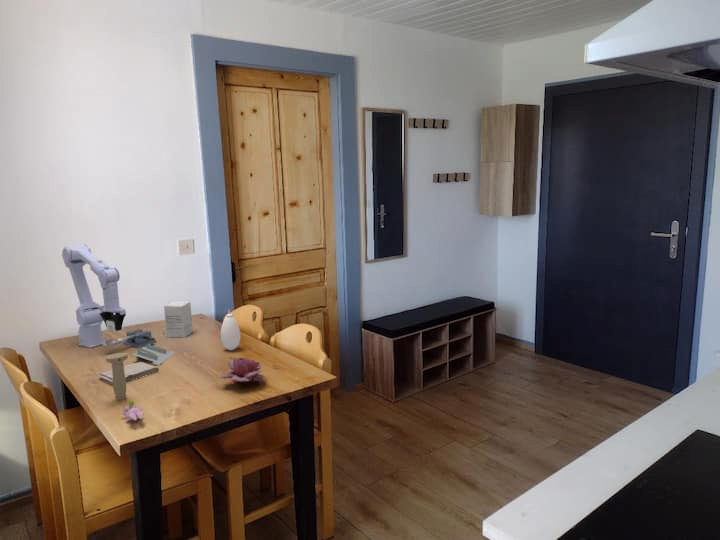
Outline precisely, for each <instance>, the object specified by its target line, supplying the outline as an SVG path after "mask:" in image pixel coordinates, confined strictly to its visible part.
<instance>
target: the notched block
mask: <svg viewBox="0 0 720 540" xmlns="http://www.w3.org/2000/svg"><path fill="white" fill-rule="evenodd" d="M106 324H107V327H106V331H107V332H111V331H113V333H118V332H122V329H123V328H122V329H121V330H119V331H116V329H115V324H114V321H113V319H109V320H106Z"/></svg>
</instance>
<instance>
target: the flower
mask: <svg viewBox="0 0 720 540" xmlns="http://www.w3.org/2000/svg"><path fill="white" fill-rule="evenodd" d="M227 367H228V368H229V369H230V371H229V372H226V373H222V374H220V378H222V379H230V381H232V382H237V383H243V382H244V383H243V384H244V385H246V382H259V385H261V384H263V379H264V378H266V376H265V375H263V374H260V373H262V371H263V369H261V368H262V364H261V362H260V361H255V360H254V359H250V358H247V357H242V356H239V357H238V358H237V357H235V358H233V359H231V360H229V361H227Z"/></svg>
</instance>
